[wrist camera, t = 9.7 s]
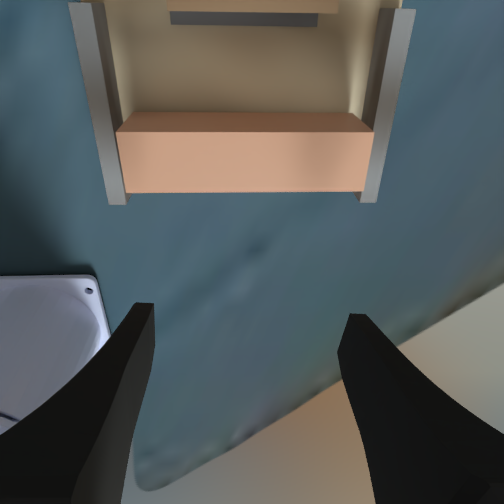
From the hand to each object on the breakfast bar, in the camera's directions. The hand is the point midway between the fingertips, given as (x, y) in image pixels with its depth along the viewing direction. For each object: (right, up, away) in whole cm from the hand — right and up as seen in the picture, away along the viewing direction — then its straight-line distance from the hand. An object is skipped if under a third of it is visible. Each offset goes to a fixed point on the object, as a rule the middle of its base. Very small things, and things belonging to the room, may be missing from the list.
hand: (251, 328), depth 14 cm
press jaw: (0, +8, +4) cm, 9 cm away
